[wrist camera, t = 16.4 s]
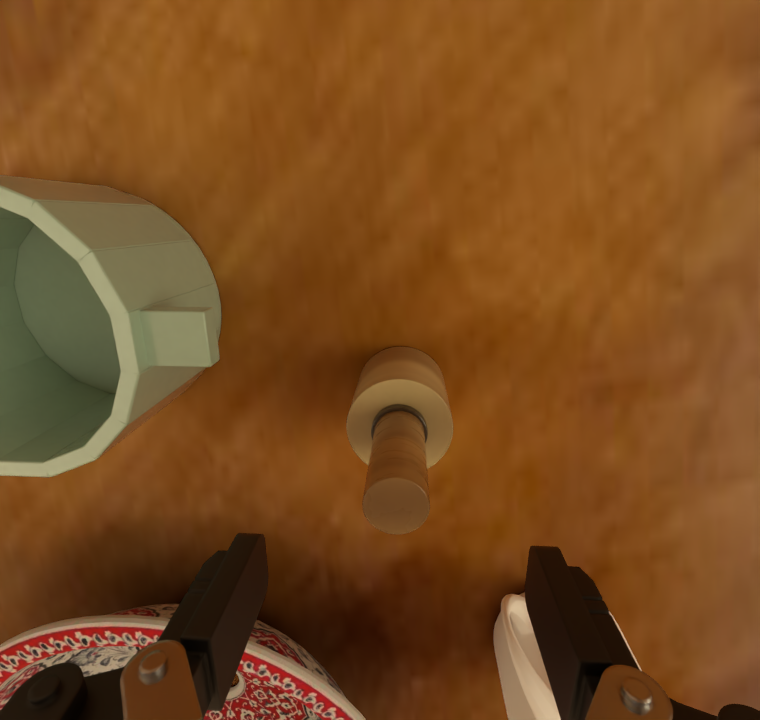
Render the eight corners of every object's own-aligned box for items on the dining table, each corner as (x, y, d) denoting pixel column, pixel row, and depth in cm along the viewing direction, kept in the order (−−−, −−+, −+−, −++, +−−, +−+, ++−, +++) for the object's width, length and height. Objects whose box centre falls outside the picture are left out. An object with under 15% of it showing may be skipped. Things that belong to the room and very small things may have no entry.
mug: (546, 526, 29) (621, 694, 19) (635, 639, 31) (745, 843, 21) (439, 584, 31) (454, 764, 21) (531, 686, 33) (585, 893, 23)
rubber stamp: (357, 345, 26) (320, 439, 15) (446, 346, 25) (474, 444, 14) (359, 424, 27) (326, 562, 16) (442, 427, 27) (465, 569, 16)
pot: (-62, 188, 24) (-295, 173, 16) (256, 186, 23) (175, 169, 15) (0, 398, 28) (-162, 470, 20) (274, 405, 27) (218, 484, 19)
